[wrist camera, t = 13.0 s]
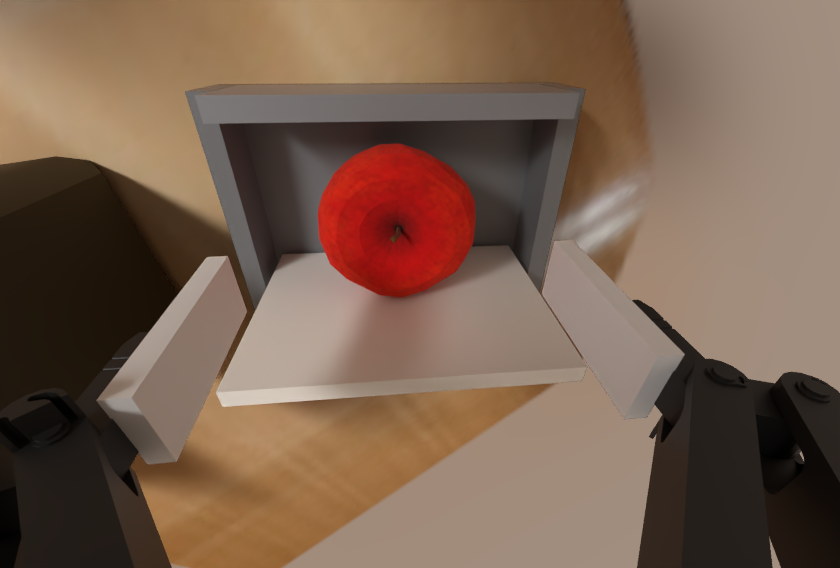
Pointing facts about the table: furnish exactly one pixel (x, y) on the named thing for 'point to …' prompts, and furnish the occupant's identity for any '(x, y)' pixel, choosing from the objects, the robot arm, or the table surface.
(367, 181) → the apple
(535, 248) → the grey tray
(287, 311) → the plate
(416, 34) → the table surface
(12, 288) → the bottle
